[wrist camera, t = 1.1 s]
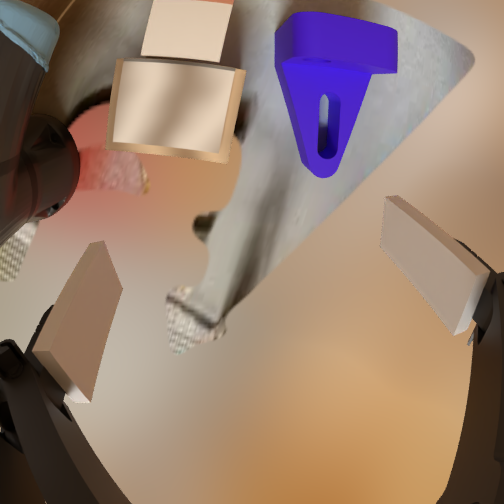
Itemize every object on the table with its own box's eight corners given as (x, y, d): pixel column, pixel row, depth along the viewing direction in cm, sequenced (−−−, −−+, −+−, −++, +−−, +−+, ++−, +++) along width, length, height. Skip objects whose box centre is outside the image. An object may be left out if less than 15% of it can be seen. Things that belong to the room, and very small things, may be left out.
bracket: (274, 32, 29) (297, 9, 19) (357, 43, 30) (405, 31, 20) (272, 168, 38) (292, 199, 28) (350, 170, 39) (392, 200, 29)
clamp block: (133, 134, 34) (102, 151, 25) (143, 66, 30) (113, 57, 20) (226, 146, 36) (227, 166, 27) (240, 77, 32) (247, 69, 23)
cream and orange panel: (142, 55, 21) (140, 54, 21) (161, -19, 18) (160, -22, 17) (219, 62, 23) (219, 61, 22) (237, -13, 19) (238, -15, 18)
